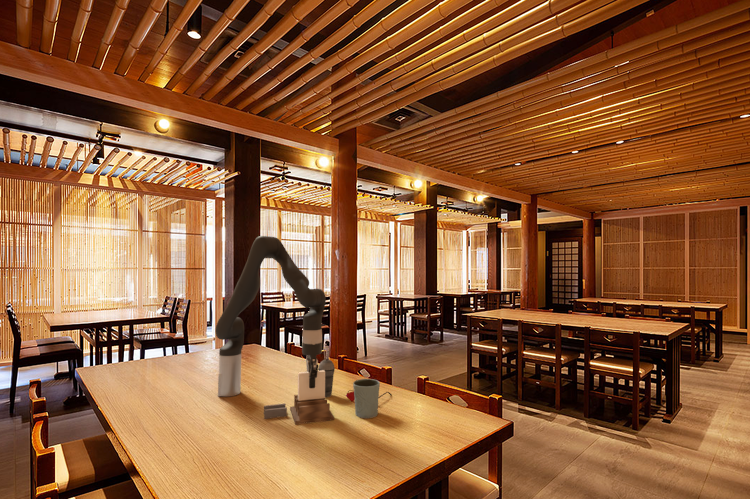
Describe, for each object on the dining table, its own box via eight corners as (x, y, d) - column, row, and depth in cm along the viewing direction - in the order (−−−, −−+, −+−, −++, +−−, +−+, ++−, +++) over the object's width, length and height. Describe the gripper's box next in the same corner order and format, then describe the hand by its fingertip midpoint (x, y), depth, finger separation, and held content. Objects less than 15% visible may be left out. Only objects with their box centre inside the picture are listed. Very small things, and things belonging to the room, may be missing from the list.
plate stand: (264, 418, 143) (264, 410, 143) (263, 413, 148) (263, 405, 148) (286, 416, 146) (286, 408, 146) (285, 411, 151) (285, 403, 151)
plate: (298, 400, 145) (298, 373, 146) (297, 399, 147) (298, 372, 148) (324, 397, 149) (325, 371, 149) (323, 396, 150) (324, 370, 151)
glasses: (345, 401, 163) (345, 389, 164) (364, 390, 178) (364, 379, 178) (374, 407, 157) (374, 394, 157) (391, 395, 172) (391, 384, 172)
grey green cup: (382, 411, 151) (383, 380, 152) (374, 420, 142) (374, 387, 142) (358, 408, 155) (358, 377, 155) (348, 417, 145) (349, 384, 146)
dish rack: (295, 424, 138) (295, 408, 138) (290, 409, 152) (290, 395, 153) (333, 419, 143) (334, 404, 143) (325, 405, 157) (325, 391, 157)
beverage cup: (331, 398, 165) (332, 351, 166) (315, 397, 167) (316, 350, 168) (336, 393, 172) (337, 348, 173) (321, 392, 174) (321, 347, 175)
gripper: (299, 338, 154) (299, 382, 153) (305, 345, 141) (304, 393, 140) (318, 337, 157) (317, 381, 156) (325, 343, 144) (324, 391, 143)
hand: (311, 386), depth 148 cm, fingers closed on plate, 2 cm apart
